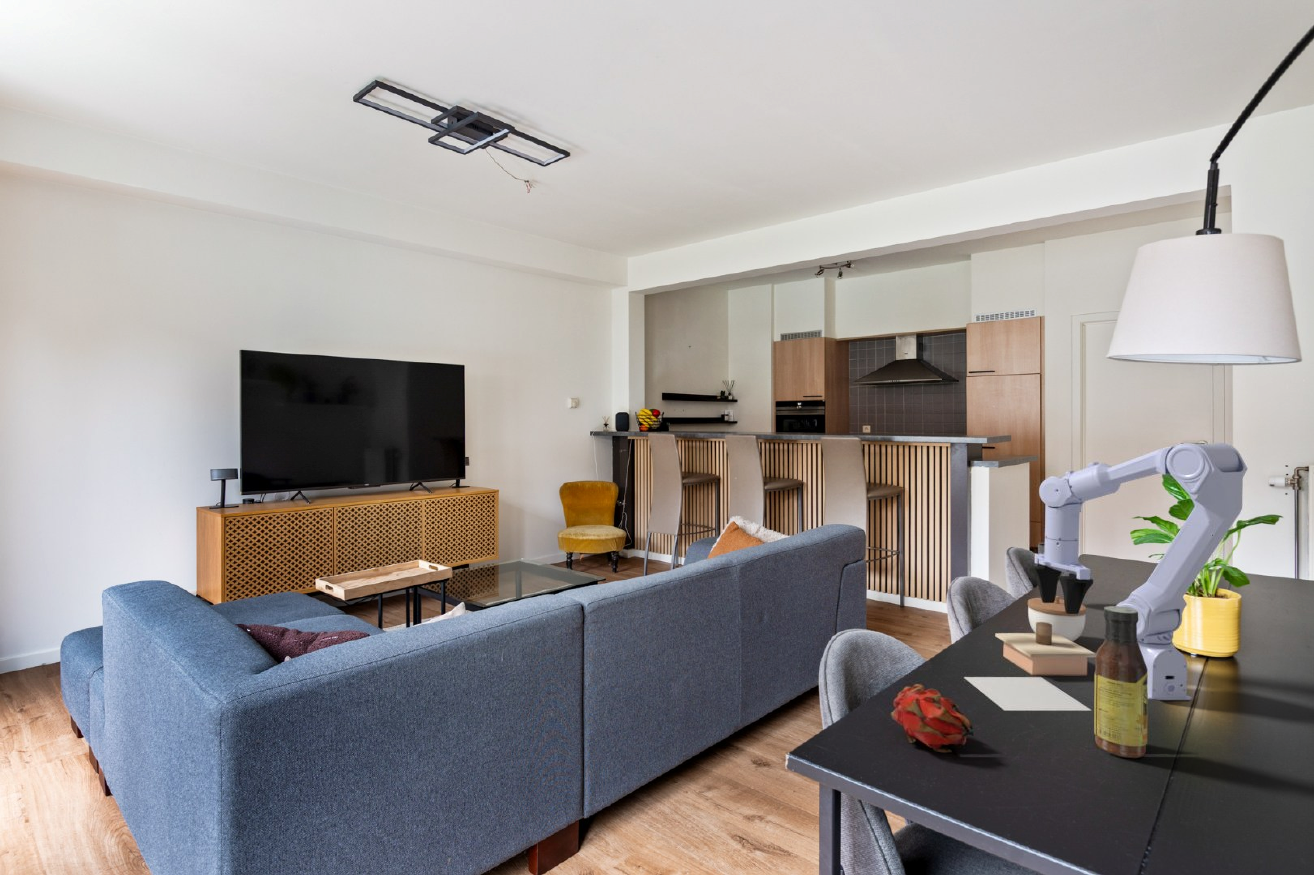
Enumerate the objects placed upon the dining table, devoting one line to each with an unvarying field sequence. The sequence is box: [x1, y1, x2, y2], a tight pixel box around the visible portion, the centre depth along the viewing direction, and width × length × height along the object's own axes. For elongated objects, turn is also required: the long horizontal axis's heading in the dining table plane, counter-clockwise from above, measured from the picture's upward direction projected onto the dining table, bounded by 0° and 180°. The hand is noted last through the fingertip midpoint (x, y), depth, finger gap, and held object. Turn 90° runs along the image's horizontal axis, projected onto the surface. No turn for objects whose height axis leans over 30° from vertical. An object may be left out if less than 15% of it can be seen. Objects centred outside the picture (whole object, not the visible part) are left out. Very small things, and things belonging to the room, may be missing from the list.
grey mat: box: [963, 676, 1092, 712], centre depth 116 cm, size 14×14×1 cm
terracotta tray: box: [1002, 641, 1088, 677], centre depth 130 cm, size 10×10×4 cm
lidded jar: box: [1027, 595, 1087, 642], centre depth 146 cm, size 11×11×9 cm
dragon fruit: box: [889, 683, 977, 753], centre depth 99 cm, size 8×8×12 cm
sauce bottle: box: [1093, 605, 1149, 759], centre depth 97 cm, size 7×6×20 cm
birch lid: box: [994, 622, 1096, 658], centre depth 130 cm, size 12×12×4 cm
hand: (1059, 607), depth 134 cm, fingers open, 7 cm apart
